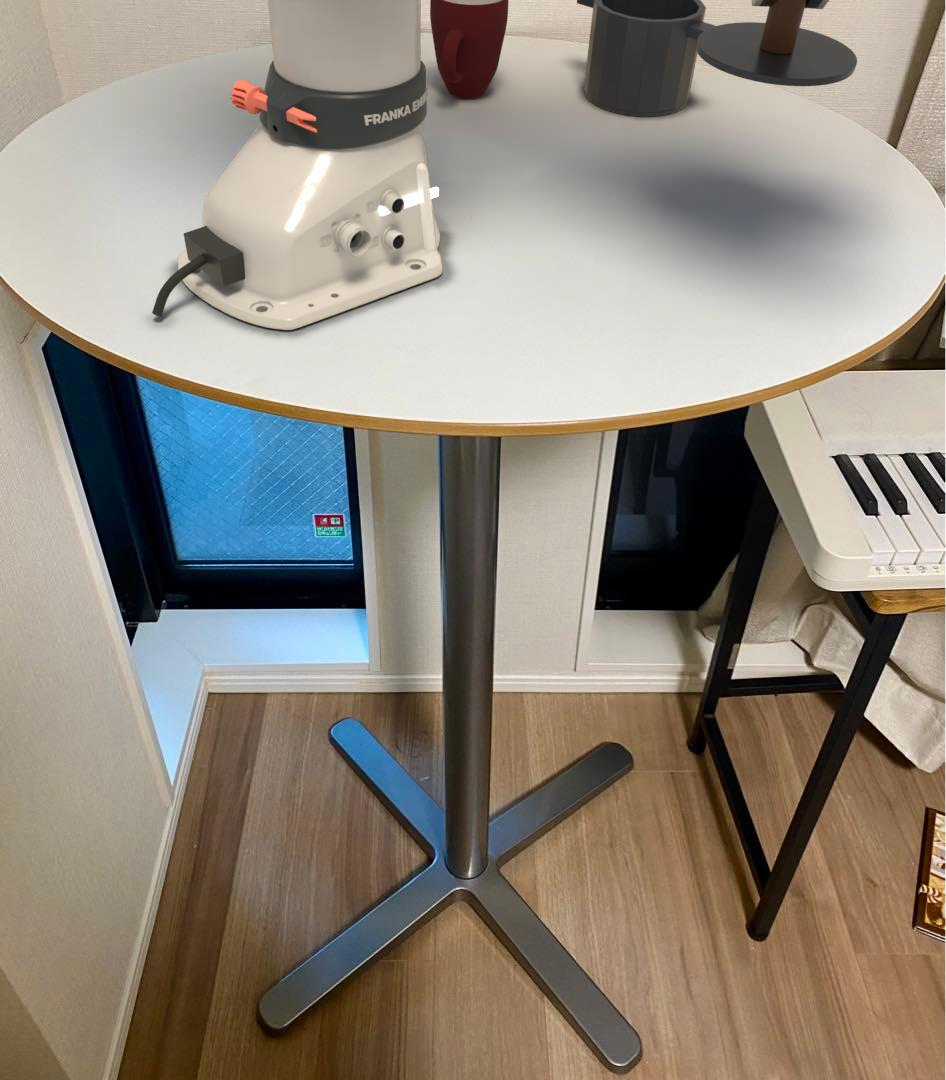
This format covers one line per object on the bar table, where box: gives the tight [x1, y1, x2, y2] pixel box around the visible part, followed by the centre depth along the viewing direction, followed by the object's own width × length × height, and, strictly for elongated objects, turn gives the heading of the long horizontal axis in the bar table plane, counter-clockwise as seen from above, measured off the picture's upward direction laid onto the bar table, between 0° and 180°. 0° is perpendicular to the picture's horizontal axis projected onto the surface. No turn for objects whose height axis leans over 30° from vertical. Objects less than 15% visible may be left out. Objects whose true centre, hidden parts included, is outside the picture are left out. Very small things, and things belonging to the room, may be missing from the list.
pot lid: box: [696, 0, 858, 87], centre depth 75 cm, size 12×12×9 cm
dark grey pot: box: [576, 0, 716, 118], centre depth 106 cm, size 11×17×9 cm
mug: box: [429, 0, 509, 100], centre depth 104 cm, size 11×8×10 cm
